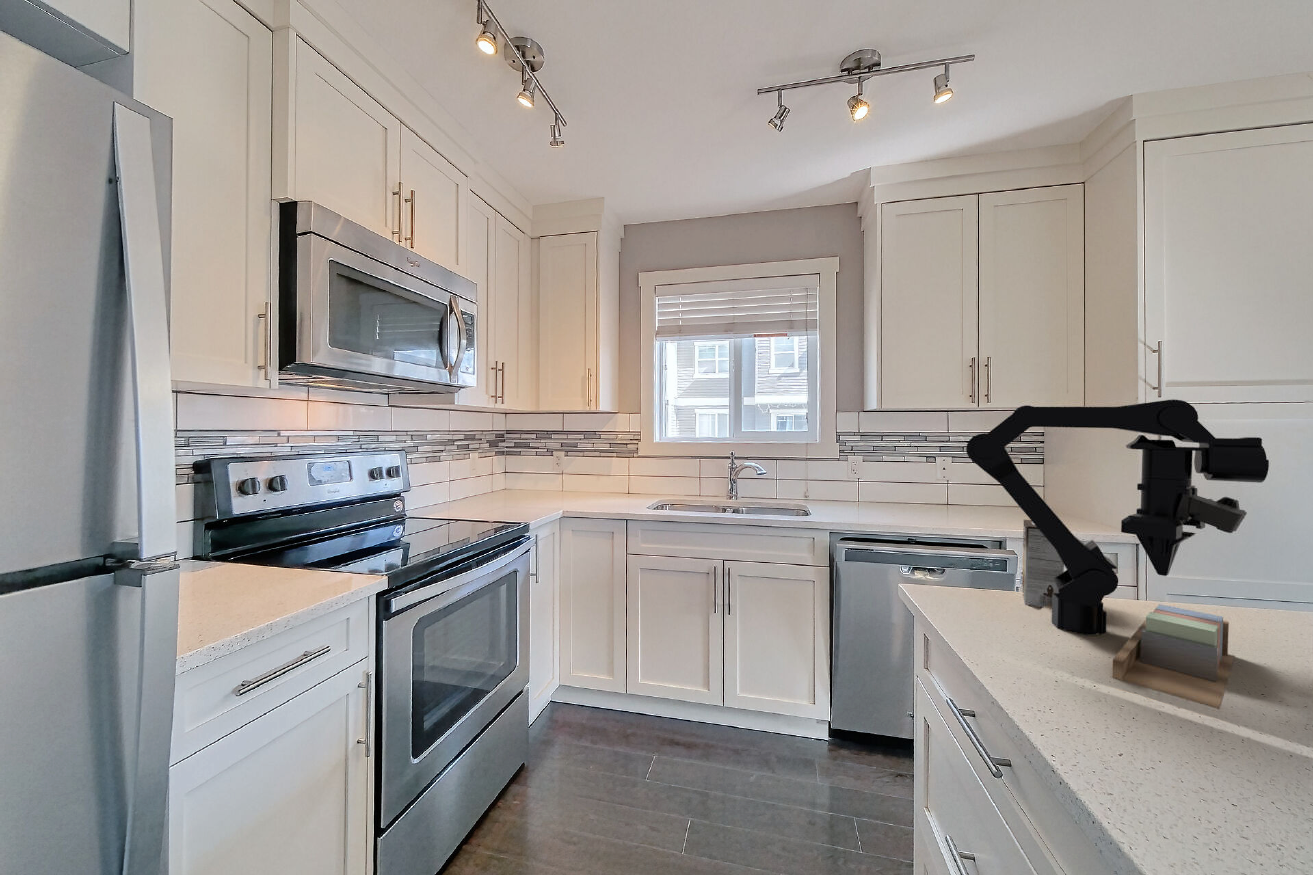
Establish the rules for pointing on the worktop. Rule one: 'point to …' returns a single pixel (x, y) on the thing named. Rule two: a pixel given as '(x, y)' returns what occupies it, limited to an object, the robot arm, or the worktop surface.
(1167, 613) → the book brick
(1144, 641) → the bookend
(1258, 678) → the worktop surface
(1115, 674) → the wooden book rack
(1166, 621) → the green book
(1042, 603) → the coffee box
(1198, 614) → the book blue
